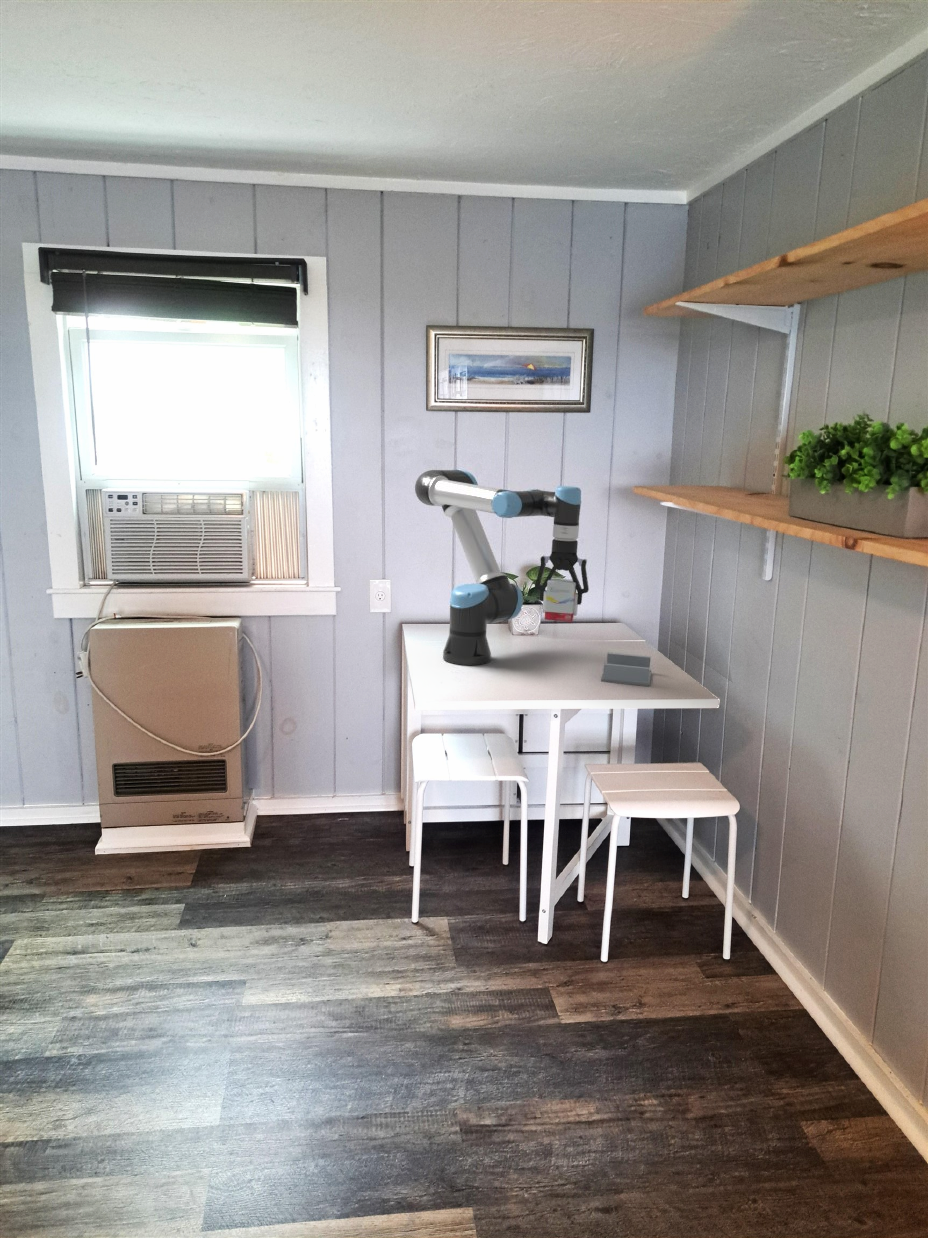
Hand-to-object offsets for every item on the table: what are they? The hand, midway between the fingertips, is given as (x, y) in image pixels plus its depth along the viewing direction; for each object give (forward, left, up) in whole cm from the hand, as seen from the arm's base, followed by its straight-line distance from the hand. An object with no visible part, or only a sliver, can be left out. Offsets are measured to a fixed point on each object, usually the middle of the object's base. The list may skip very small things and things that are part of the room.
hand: (559, 613), depth 254 cm
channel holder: (+21, 0, -18) cm, 28 cm away
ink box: (0, 0, -2) cm, 2 cm away
